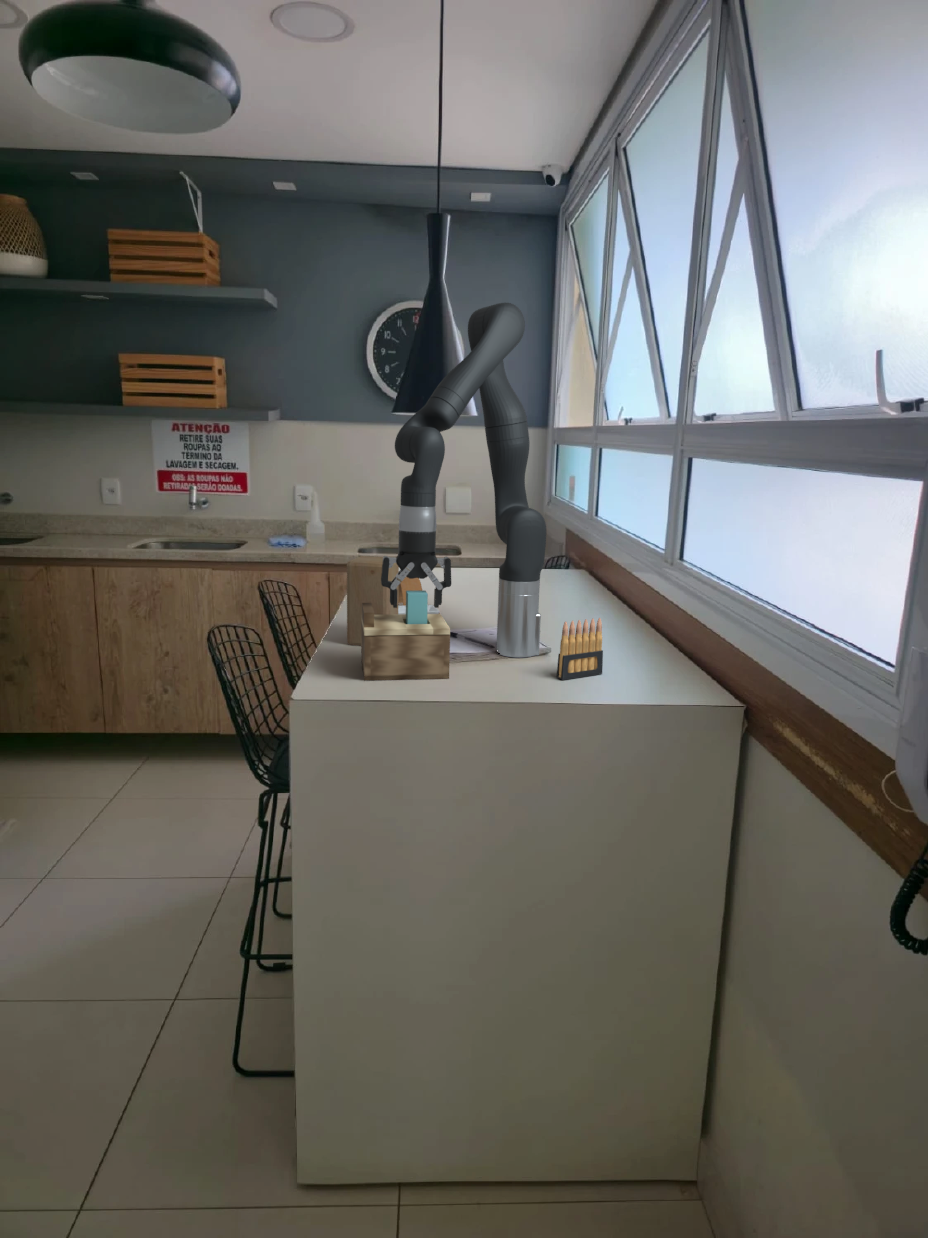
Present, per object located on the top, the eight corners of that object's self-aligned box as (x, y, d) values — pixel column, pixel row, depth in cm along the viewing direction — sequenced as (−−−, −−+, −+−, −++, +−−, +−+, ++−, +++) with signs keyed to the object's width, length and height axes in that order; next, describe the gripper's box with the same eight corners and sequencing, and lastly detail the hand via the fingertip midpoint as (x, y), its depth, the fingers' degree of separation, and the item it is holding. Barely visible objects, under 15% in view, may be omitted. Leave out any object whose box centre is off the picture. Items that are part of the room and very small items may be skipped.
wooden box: (439, 660, 174) (440, 620, 173) (449, 678, 161) (450, 635, 159) (361, 662, 172) (361, 621, 170) (364, 680, 158) (364, 636, 156)
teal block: (424, 641, 168) (425, 590, 165) (426, 646, 164) (427, 594, 162) (405, 642, 167) (406, 590, 165) (407, 646, 163) (408, 594, 161)
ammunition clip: (561, 680, 162) (564, 622, 160) (556, 677, 164) (559, 620, 161) (602, 673, 168) (606, 618, 165) (596, 671, 169) (600, 616, 167)
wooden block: (387, 649, 183) (387, 563, 179) (345, 646, 185) (345, 560, 180) (399, 639, 192) (399, 557, 188) (359, 636, 194) (359, 555, 190)
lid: (440, 619, 173) (440, 600, 172) (450, 634, 159) (450, 613, 158) (361, 620, 170) (361, 600, 169) (364, 635, 156) (364, 614, 155)
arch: (403, 620, 215) (403, 583, 212) (392, 605, 234) (392, 571, 231) (424, 619, 216) (424, 583, 214) (411, 605, 235) (412, 571, 233)
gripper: (449, 527, 165) (447, 603, 169) (380, 525, 163) (379, 603, 166) (455, 531, 158) (452, 611, 162) (383, 529, 156) (382, 610, 159)
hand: (415, 607), depth 164 cm, fingers open, 8 cm apart
